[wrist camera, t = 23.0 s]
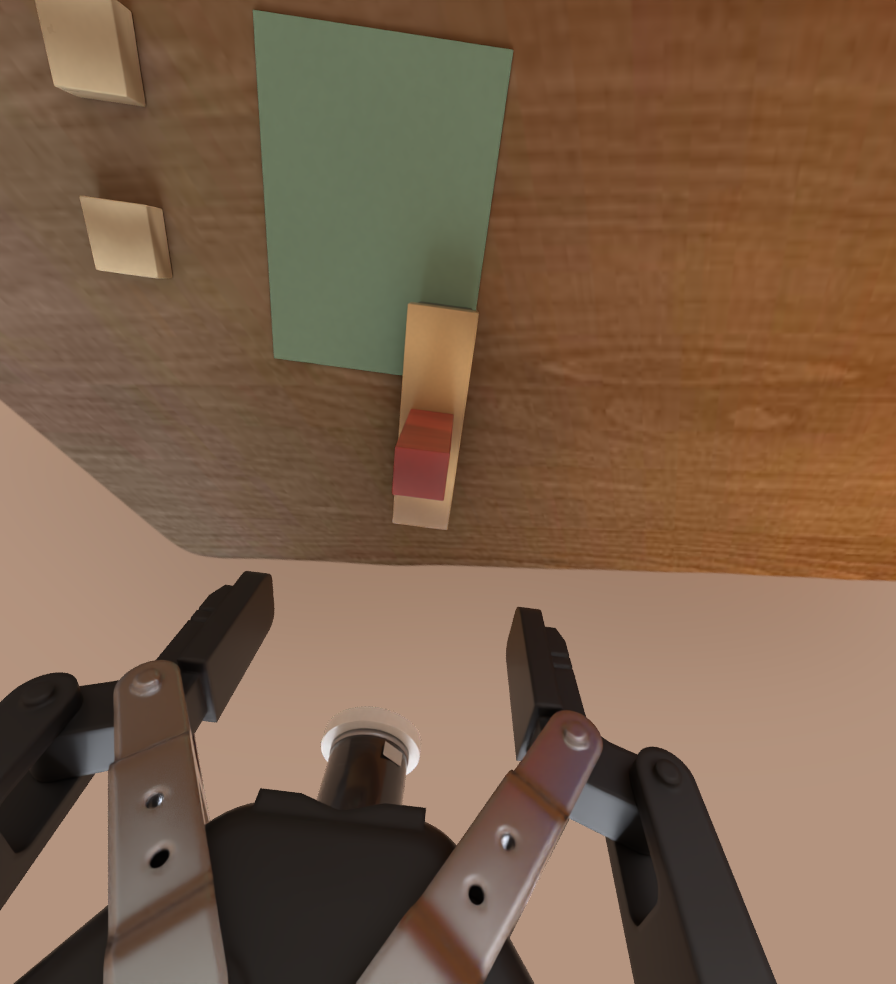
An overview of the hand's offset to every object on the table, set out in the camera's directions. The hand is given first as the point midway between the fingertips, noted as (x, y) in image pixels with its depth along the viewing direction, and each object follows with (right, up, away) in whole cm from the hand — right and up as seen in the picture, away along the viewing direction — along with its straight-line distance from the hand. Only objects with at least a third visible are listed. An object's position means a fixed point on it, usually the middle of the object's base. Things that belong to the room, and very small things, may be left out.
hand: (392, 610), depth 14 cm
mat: (-3, +21, +13) cm, 25 cm away
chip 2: (-19, +20, +14) cm, 31 cm away
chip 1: (-17, +28, +10) cm, 35 cm away
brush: (+1, +10, +18) cm, 21 cm away
